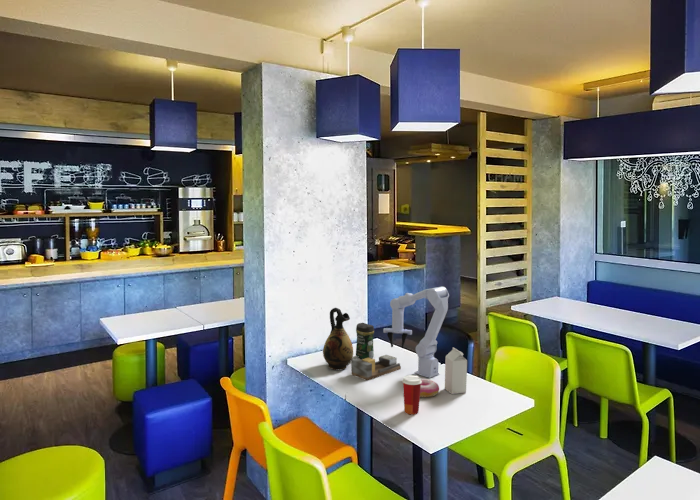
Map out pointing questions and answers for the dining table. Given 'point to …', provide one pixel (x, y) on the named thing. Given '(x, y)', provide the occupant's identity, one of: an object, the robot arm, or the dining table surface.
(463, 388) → the milk carton
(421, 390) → the donut
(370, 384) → the dining table surface
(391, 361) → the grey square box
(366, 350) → the coffee jar
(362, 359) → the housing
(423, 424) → the dining table surface
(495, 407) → the dining table surface
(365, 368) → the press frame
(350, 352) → the ceramic jug
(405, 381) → the paper cup
